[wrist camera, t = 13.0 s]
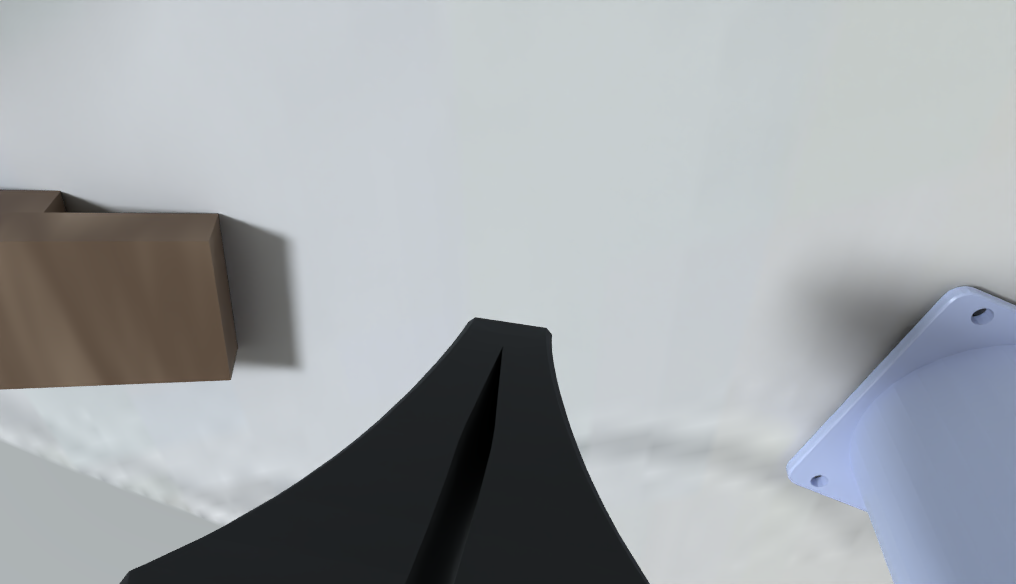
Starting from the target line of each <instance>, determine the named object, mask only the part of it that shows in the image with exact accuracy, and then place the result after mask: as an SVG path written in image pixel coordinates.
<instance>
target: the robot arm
mask: <svg viewBox="0 0 1016 584" xmlns="http://www.w3.org/2000/svg"><path fill="white" fill-rule="evenodd" d="M983 308H987V309H986V311H985V312H984V313H982V314H981V315H979V316H974V317H973V316H972V315H973V313H974V312H976V311H977V310H979V309H983ZM786 471H787V474H788V478H789V479H790V481H791V482H793V483H795V484H797V485H799V486H802V487H804V488H807V489H809V490H812V491H815V492H817V493H820V494H822V495H825V496H827V497H830V498H832V499H835V500H838V501H840V502H843V503H845V504H848V505H850V506H853V507H856V508H858V509H861V510H863V511H866V512H868V514H869V517H870V520H871V522H872V525H873V528H874V531H875V533H876V536H877V539H878V541H879V544H880V547H881V550H882V552H883V555H884V558H885V560H886V563H887V566H888V569H889V571H890V574H891V577H892V579H893V582H894V584H1016V305H1013V304H1011V303H1009V302H1006V301H1004V300H1002V299H999V298H997V297H995V296H992V295H990V294H988V293H985V292H983V291H981V290H978V289H976V288H973V287H969V286H962V287H957V288H954V289H952V290H949V291H948V292H947V293H946V294H944V295H943V296H942V297H941V298H940V299H939V301H938V302H937V303H936V304H935V305H934V306H933V307H932V308H931V309H930V310H929V311H928V312H927V313H926V315H925V316H924V317H923V318H922V319H921V320H920V321H919V322H918V323H917V324H916V325H915V326H914V327H913V329H912V330H911V331H910V332H909V333H908V334H907V335H906V336H905V337H904V338H903V339H902V340H901V341H900V343H899V344H898V345H897V346H896V347H895V348H894V349H893V350H892V351H891V352H890V353H889V354H888V356H887V357H886V358H885V359H884V360H883V361H882V362H881V363H880V364H879V365H878V366H877V367H876V368H875V370H874V371H873V372H872V373H871V374H870V375H869V376H868V377H867V378H866V379H865V380H864V381H863V382H862V384H861V385H860V386H859V387H858V388H857V389H856V390H855V391H854V392H853V393H852V394H851V395H850V396H849V398H848V399H847V400H846V401H845V402H844V403H843V404H842V405H841V406H840V407H839V408H838V409H837V410H836V412H835V413H834V414H833V415H832V416H831V417H830V418H829V419H828V420H827V421H826V422H825V423H824V424H823V426H822V427H821V428H820V429H819V430H818V431H817V432H816V433H815V434H814V435H813V436H812V437H811V438H810V440H809V441H808V442H807V443H806V444H805V445H804V446H803V447H802V448H801V449H800V450H799V451H798V452H797V454H796V455H795V456H794V457H793V458H792V459H791V460H790V461H789V462H788V464H787V466H786ZM818 475H822V476H821V477H816V478H815V476H818ZM120 584H649V582H648V580H647V579H646V577H645V575H644V574H643V572H642V571H641V569H640V567H639V566H638V564H637V562H636V561H635V559H634V558H633V556H632V554H631V553H630V551H629V550H628V548H627V546H626V545H625V543H624V541H623V540H622V538H621V537H620V535H619V533H618V531H617V529H616V528H615V526H614V524H613V522H612V520H611V518H610V516H609V514H608V512H607V511H606V509H605V507H604V505H603V503H602V501H601V499H600V497H599V495H598V493H597V490H596V488H595V486H594V484H593V482H592V480H591V478H590V475H589V473H588V471H587V469H586V466H585V464H584V461H583V459H582V457H581V454H580V451H579V449H578V446H577V443H576V441H575V438H574V436H573V433H572V430H571V427H570V424H569V421H568V418H567V415H566V411H565V408H564V404H563V401H562V398H561V394H560V390H559V386H558V382H557V378H556V373H555V368H554V362H553V355H552V334H551V333H550V332H549V331H548V329H547V328H543V327H536V326H529V325H523V324H516V323H509V322H503V321H496V320H489V319H483V318H476V317H475V318H474V319H472V320H471V321H469V322H468V323H467V325H466V326H465V328H464V329H463V331H462V332H461V333H460V335H459V336H458V337H457V339H456V340H455V341H454V342H453V344H452V345H451V346H450V347H449V348H448V350H447V351H446V352H445V353H444V354H443V356H442V357H441V358H440V359H439V360H438V361H437V363H436V364H435V365H434V366H433V367H432V368H431V369H430V370H429V371H428V372H427V373H426V374H425V375H424V377H423V378H422V379H421V380H420V381H419V382H418V383H417V384H416V385H415V386H414V387H413V388H412V389H411V390H410V391H409V392H408V393H407V394H406V395H405V396H404V397H403V398H402V399H401V400H400V401H399V402H398V403H397V404H396V405H395V406H394V407H392V408H391V409H390V410H389V411H388V412H387V413H386V414H385V415H384V416H383V417H382V418H381V419H380V420H379V421H377V422H376V423H375V424H374V425H373V426H372V427H370V428H369V429H368V430H367V431H366V432H365V433H363V434H362V435H361V436H360V437H359V438H357V439H356V440H355V441H354V442H352V443H351V444H350V445H349V446H347V447H346V448H345V449H343V450H342V451H341V452H340V453H338V454H337V455H336V456H334V457H333V458H332V459H330V460H329V461H327V462H326V463H325V464H323V465H322V466H320V467H319V468H317V469H316V470H315V471H313V472H312V473H310V474H309V475H307V476H306V477H305V478H303V479H302V480H300V481H299V482H297V483H296V484H294V485H293V486H291V487H290V488H288V489H287V490H285V491H283V492H282V493H280V494H279V495H277V496H275V497H274V498H272V499H270V500H269V501H267V502H265V503H263V504H262V505H260V506H258V507H256V508H255V509H253V510H251V511H250V512H248V513H246V514H244V515H243V516H241V517H239V518H237V519H236V520H234V521H232V522H230V523H229V524H227V525H225V526H223V527H221V528H220V529H218V530H216V531H214V532H212V533H210V534H208V535H206V536H204V537H202V538H200V539H198V540H196V541H194V542H192V543H190V544H187V545H185V546H183V547H181V548H179V549H177V550H175V551H172V552H170V553H168V554H166V555H164V556H162V557H160V558H158V559H155V560H153V561H151V562H149V563H147V564H145V565H142V566H140V567H138V568H135V569H133V570H131V571H129V572H128V573H127V575H126V576H125V577H124V579H123V580H122V581H121V582H120Z"/></svg>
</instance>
